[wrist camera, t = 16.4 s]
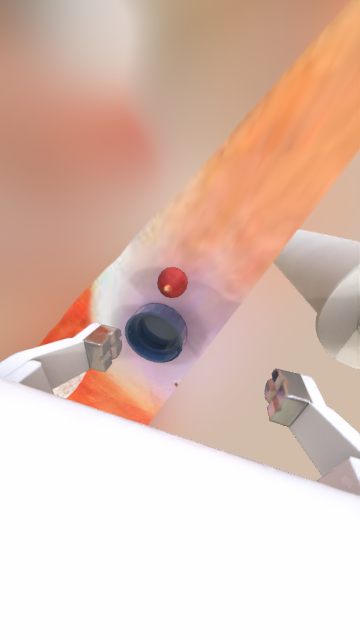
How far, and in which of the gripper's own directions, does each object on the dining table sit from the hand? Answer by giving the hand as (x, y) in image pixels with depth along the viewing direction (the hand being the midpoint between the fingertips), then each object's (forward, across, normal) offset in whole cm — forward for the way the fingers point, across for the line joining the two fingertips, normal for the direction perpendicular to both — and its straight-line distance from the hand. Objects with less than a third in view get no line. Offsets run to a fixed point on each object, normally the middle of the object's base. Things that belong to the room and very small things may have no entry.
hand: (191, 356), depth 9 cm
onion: (+29, +8, +6) cm, 31 cm away
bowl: (+29, +11, +20) cm, 37 cm away
